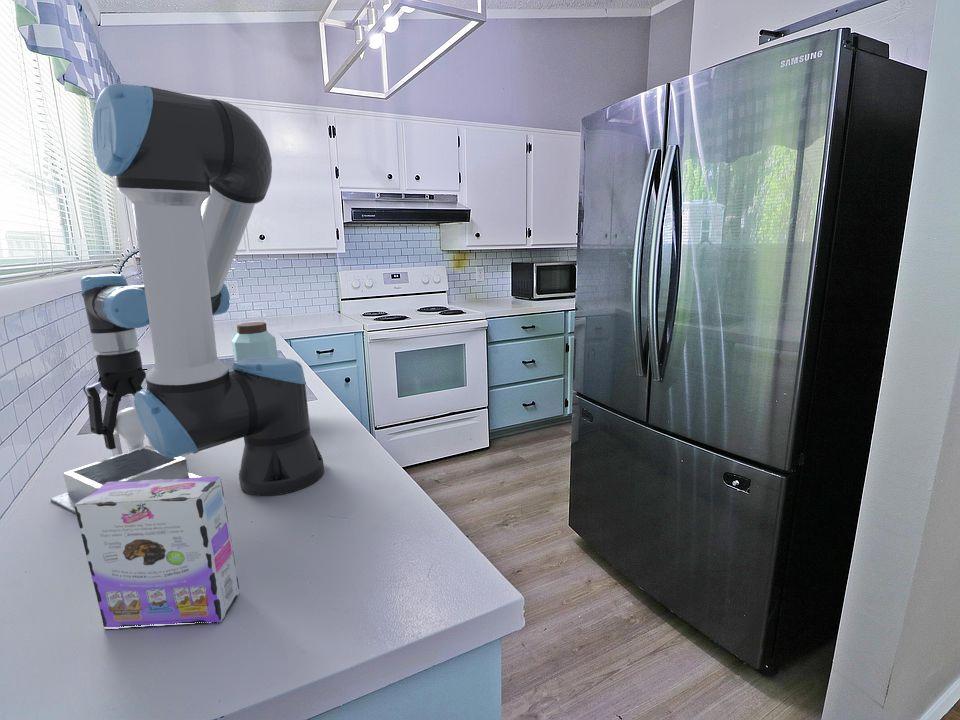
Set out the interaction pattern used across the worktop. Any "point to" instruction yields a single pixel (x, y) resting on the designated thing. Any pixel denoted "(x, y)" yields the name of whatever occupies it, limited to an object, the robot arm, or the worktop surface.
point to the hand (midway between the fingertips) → (137, 455)
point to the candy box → (159, 551)
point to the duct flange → (120, 473)
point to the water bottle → (253, 341)
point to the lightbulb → (130, 428)
